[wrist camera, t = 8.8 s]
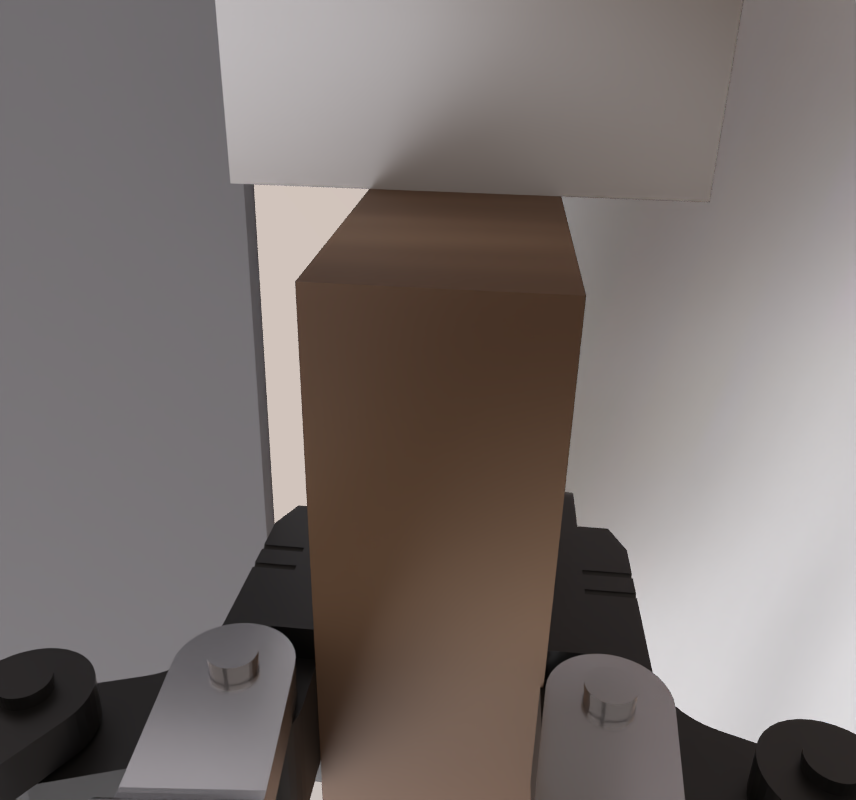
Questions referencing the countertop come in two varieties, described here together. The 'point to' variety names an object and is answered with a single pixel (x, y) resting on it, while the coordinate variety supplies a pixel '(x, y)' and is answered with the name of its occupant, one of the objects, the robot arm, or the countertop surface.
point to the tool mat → (124, 336)
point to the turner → (453, 332)
